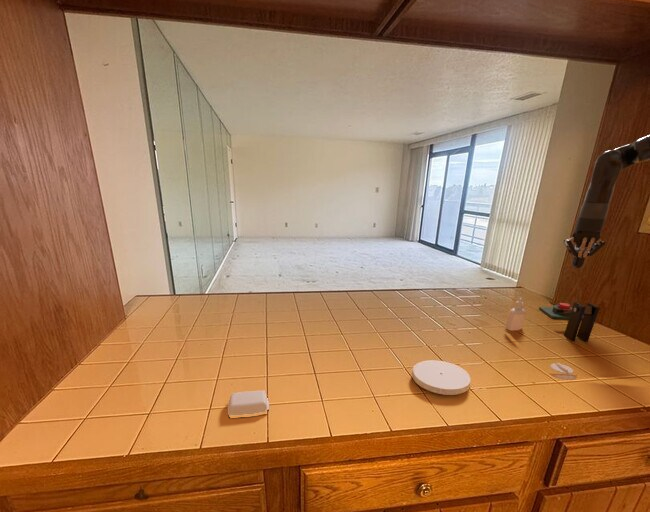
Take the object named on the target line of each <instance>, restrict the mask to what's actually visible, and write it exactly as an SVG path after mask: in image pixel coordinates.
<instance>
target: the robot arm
mask: <svg viewBox="0 0 650 512" xmlns="http://www.w3.org/2000/svg"><path fill="white" fill-rule="evenodd" d="M648 161H650V134H648V135H646V136H643V137H641V138H639V139H636V140H634V141H633V142H630V143H627V144H625V145H622V146H620V147H617V148H615V149H609V150H606V151H604V152H603V153H601V154H600V155H598V157H597V158H596V161H595V162H594V166H593V171H592V175H591V179H590V183H589V186H588V188H587V190H586V194H585V197H584V200H583V203H582V205H581V207H580V210H579V213H578V217H577V220H576V224H575V227H574V232H573V234H572V235H571V237H570V238H568V239H564V240H563V244H564V245H565V248H566V249H567V251H568V253H569V254H570V255H571V256H573V259H572V262H571V265H572V267H573V268H575V269H580V268H581V267H583V265H584V262H585V260H586V258H587V257H592V256H593V255H595V254H596V253H597V252H598V251H600V250H601V249H602V248H603V247H604V246H605V245H606V241H603V240H602V239H601V232H603V229H604V225H605V223H606V220H607V216H608V213H609V208H610V204H611V201H612V198H613V196H614V192H615V187H616V183H617V181H618V178H619V176H620V174H621V172H622V170H624V169H627V168H630V167H631V166H634V165H636V164H639V163H643V162H648Z"/></svg>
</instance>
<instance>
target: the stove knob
mask: <svg viewBox="0 0 650 512" xmlns="http://www.w3.org/2000/svg"><path fill="white" fill-rule="evenodd" d="M549 367H550V368H551V370H553V371H555V372H557V373H549V375H550V376H552V377H554V378H557V379H559V380H566V381H573V380H576V379H577V376H578V375H577V374H573V373H574V370H573V368H571V367H570V366H568V365H565V364H562V363H560V362H556V363H552V364H550V366H549Z"/></svg>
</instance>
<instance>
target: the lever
mask: <svg viewBox="0 0 650 512" xmlns="http://www.w3.org/2000/svg"><path fill="white" fill-rule="evenodd" d="M584 306H585V307H586V308H585V311H584V314H591V313H592V306H587V305H584ZM571 311H572V309H555V313H567V314H571ZM584 314H583V315H584Z"/></svg>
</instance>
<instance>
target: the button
mask: <svg viewBox="0 0 650 512" xmlns="http://www.w3.org/2000/svg"><path fill="white" fill-rule="evenodd" d="M558 305H559V306H558V308H560V309H570V307H571V304H570V303H567V302H559V303H558Z"/></svg>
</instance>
